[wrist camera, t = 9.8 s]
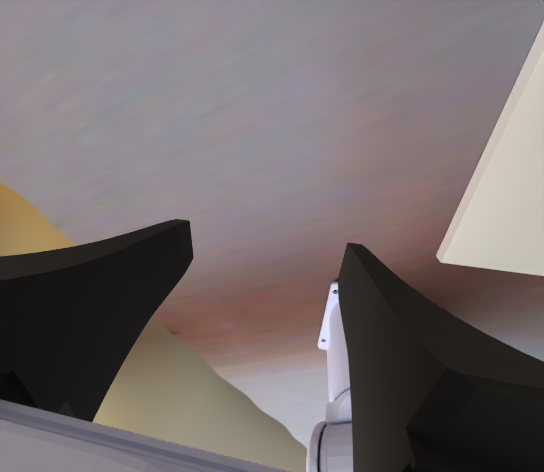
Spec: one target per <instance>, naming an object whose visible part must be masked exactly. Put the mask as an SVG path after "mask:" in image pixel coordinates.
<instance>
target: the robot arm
mask: <svg viewBox="0 0 544 472" xmlns="http://www.w3.org/2000/svg"><path fill="white" fill-rule="evenodd" d="M192 260H193V249H192V239H191V230H190V221H187V220H179V219H175V220H170V221H166V222H163V223H159V224H156V225H153V226H150V227H146V228H143V229H140V230H137V231H134V232H130V233H127V234H123V235H120V236H116V237H113V238H109V239H105V240H102V241H97V242H93V243H89V244H84V245H79V246H74V247H69V248H62V249H56V250H51V251H44V252H37V253H29V254H21V255H12V256H2V257H0V472H289V471H284V470H281V469H277V468H273V467H269V466H265V465H261V464H257V463H253V462H249V461H244V460H240V459H237V458H233V457H229V456H224V455H221V454H216V453H213V452H208V451H205V450H201V449H197V448H193V447H189V446H184V445H180V444H177V443H173V442H169V441H165V440H161V439H156V438H153V437H148V436H144V435H141V434H137V433H133V432H129V431H125V430H121V429H116V428H113V427H109V426H104V425H101V424H97V423H93V422H92V421H93V419H94V417H95V415H96V413H97V411H98V409H99V407H100V405H101V403H102V401H103V399H104V397H105V395H106V393H107V391H108V389H109V388H110V386H111V384H112V382H113V380H114V378H115V377H116V375H117V373H118V371H119V369H120V367H121V365H122V364H123V362H124V360H125V359H126V357H127V355H128V353H129V352H130V350H131V348H132V347H133V345H134V343H135V342H136V340H137V338H138V337H139V335H140V333H141V332H142V330H143V329H144V327H145V325H146V324H147V322H148V321H149V319H150V318H151V317H152V315H153V314H154V312H155V311H156V310H157V309H158V307H159V306H160V305H161V303H162V302H163V301H164V300H165V298H166V297H167V296H168V295H169V293H170V292H171V291H172V290H173V288H174V287H175V286H176V284H177V283H178V282H179V281H180V279H181V278H182V277H183V275H184V274H185V272H186V270H187V269H188V267H189V265H190V263H191V261H192ZM334 290H337V291H334ZM318 347H319V348H320V349H323V350H327V365H328V387H329V402H330V403H327V404H325V415H326V421H322V422H320V423H318V424H317V425H316V426H315V428H314V430H313V433H312V436H311V440H310V442H309V446H308V451H307V459H306V472H544V362H543V361H541V360H539V359H536V358H534V357H532V356H530V355H527V354H525V353H523V352H521V351H519V350H517V349H515V348H513V347H511V346H509V345H507V344H505V343H503V342H501V341H499V340H497V339H495V338H493V337H491V336H489V335H487V334H485V333H483V332H482V331H480V330H478V329H476V328H474V327H472V326H471V325H469V324H467V323H465V322H464V321H462V320H460V319H459V318H457V317H455V316H453V315H452V314H450V313H448V312H447V311H445V310H444V309H442V308H440V307H439V306H437V305H436V304H434V303H433V302H431V301H430V300H428V299H427V298H425V297H424V296H423V295H421V294H420V293H418V292H417V291H416V290H414V289H413V288H412V287H410V286H409V285H408V284H407V283H405V282H404V281H403V280H402V279H400V278H399V277H398V276H397V275H396V274H394V273H393V272H392V271H391V270H390V269H389V268H387V267H386V266H385V265H384V264H383V263H382V262H381V261H380V260H379V259H378V258H377V257H376V256H374V255H373V254H372V253H371V252H370V251H369V250H368V249H367V248H366V247H365V246H363V245H361V244H354V243H347V246H346V250H345V254H344V258H343V262H342V266H341V270H340V274H339V278H338V282H333V283H332V284H331V287H330V291H329V296H328V300H327V305H326V309H325V314H324V318H323V323H322V327H321V331H320V336H319V340H318Z"/></svg>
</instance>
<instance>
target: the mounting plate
mask: <svg viewBox="0 0 544 472" xmlns="http://www.w3.org/2000/svg"><path fill="white" fill-rule="evenodd" d="M436 257H437V258H438V259H439V261H440V262H441V263H448V264H456V265H464V266H471V267H479V268H487V269H494V270H502V271H509V272H517V273H525V274H532V275H540V276H544V22H543V24H542V26H541V28H540V30H539V32H538V35H537V37H536V39H535V41H534V43H533V45H532V48H531V50H530V52H529V54H528V56H527V58H526V61H525V63H524V65H523V67H522V69H521V72H520V74H519V76H518V78H517V80H516V82H515V85H514V87H513V89H512V91H511V93H510V95H509V98H508V100H507V102H506V104H505V106H504V108H503V111H502V113H501V115H500V117H499V119H498V122H497V124H496V126H495V128H494V130H493V132H492V135H491V137H490V139H489V141H488V143H487V145H486V148H485V150H484V152H483V154H482V156H481V158H480V161H479V163H478V165H477V167H476V169H475V172H474V174H473V176H472V178H471V180H470V182H469V185H468V187H467V189H466V191H465V193H464V195H463V198H462V200H461V202H460V204H459V206H458V208H457V211H456V213H455V215H454V217H453V219H452V222H451V224H450V226H449V228H448V230H447V232H446V235H445V237H444V239H443V241H442V243H441V245H440V248H439V250H438V252H437V254H436Z"/></svg>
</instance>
